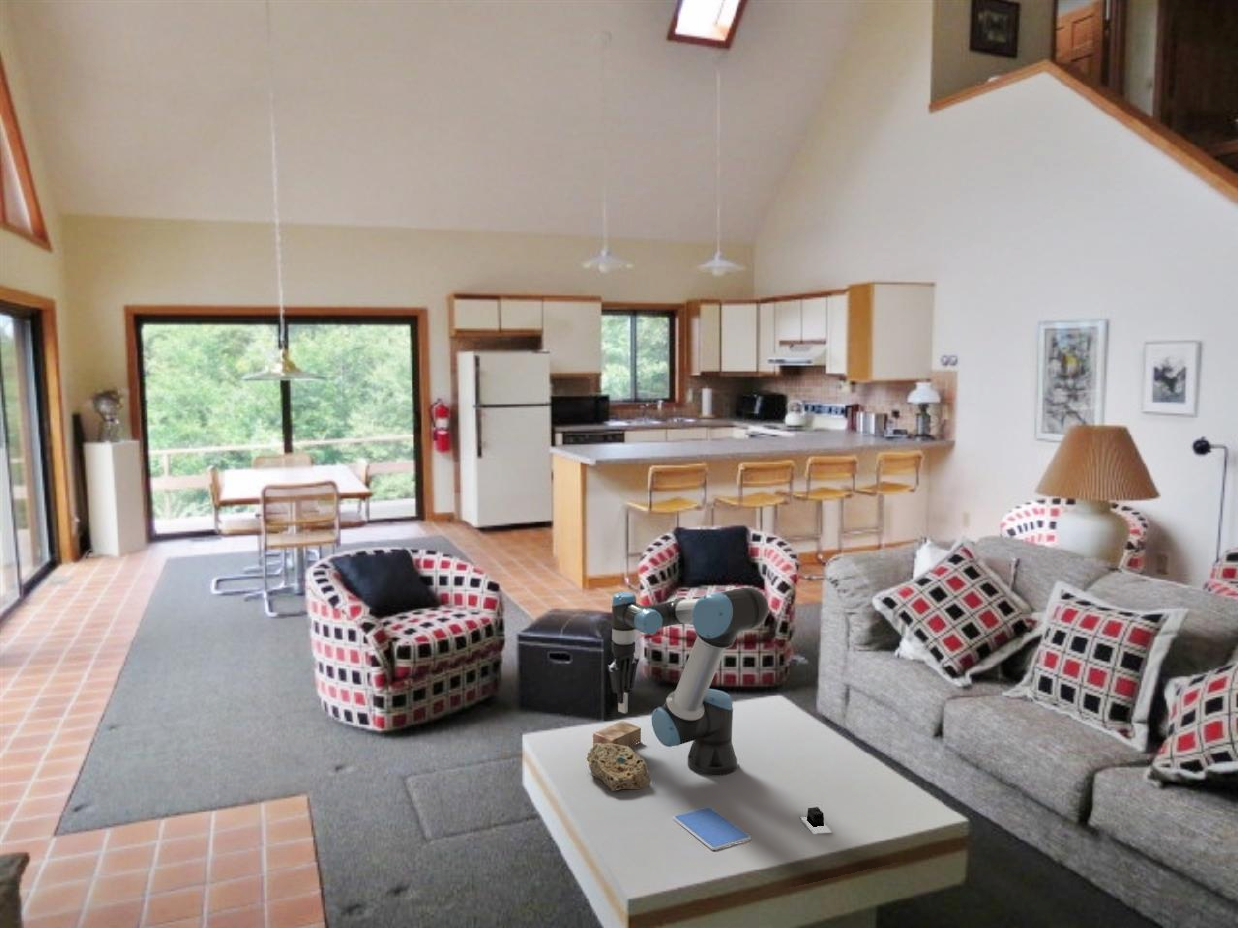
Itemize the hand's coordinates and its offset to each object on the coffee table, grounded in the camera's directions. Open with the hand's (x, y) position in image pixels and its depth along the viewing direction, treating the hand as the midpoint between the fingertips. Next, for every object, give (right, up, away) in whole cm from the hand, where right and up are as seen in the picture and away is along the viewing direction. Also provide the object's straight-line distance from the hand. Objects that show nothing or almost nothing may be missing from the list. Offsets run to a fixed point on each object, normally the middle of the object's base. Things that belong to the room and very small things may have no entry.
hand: (622, 711), depth 297 cm
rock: (-2, -14, -24) cm, 28 cm away
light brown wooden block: (+3, -8, +4) cm, 9 cm away
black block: (+52, -18, -50) cm, 74 cm away
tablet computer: (+23, -18, -53) cm, 60 cm away
